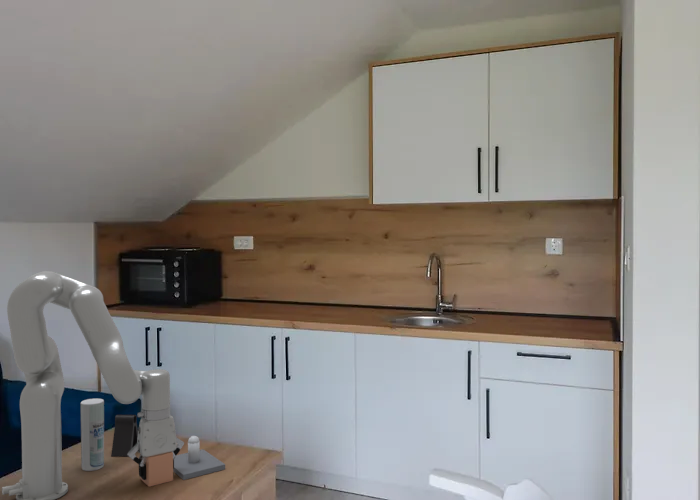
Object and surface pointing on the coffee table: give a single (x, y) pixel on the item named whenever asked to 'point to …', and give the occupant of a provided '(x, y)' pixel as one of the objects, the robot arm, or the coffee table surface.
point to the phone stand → (124, 435)
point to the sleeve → (159, 469)
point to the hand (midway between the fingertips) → (156, 474)
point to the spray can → (92, 434)
